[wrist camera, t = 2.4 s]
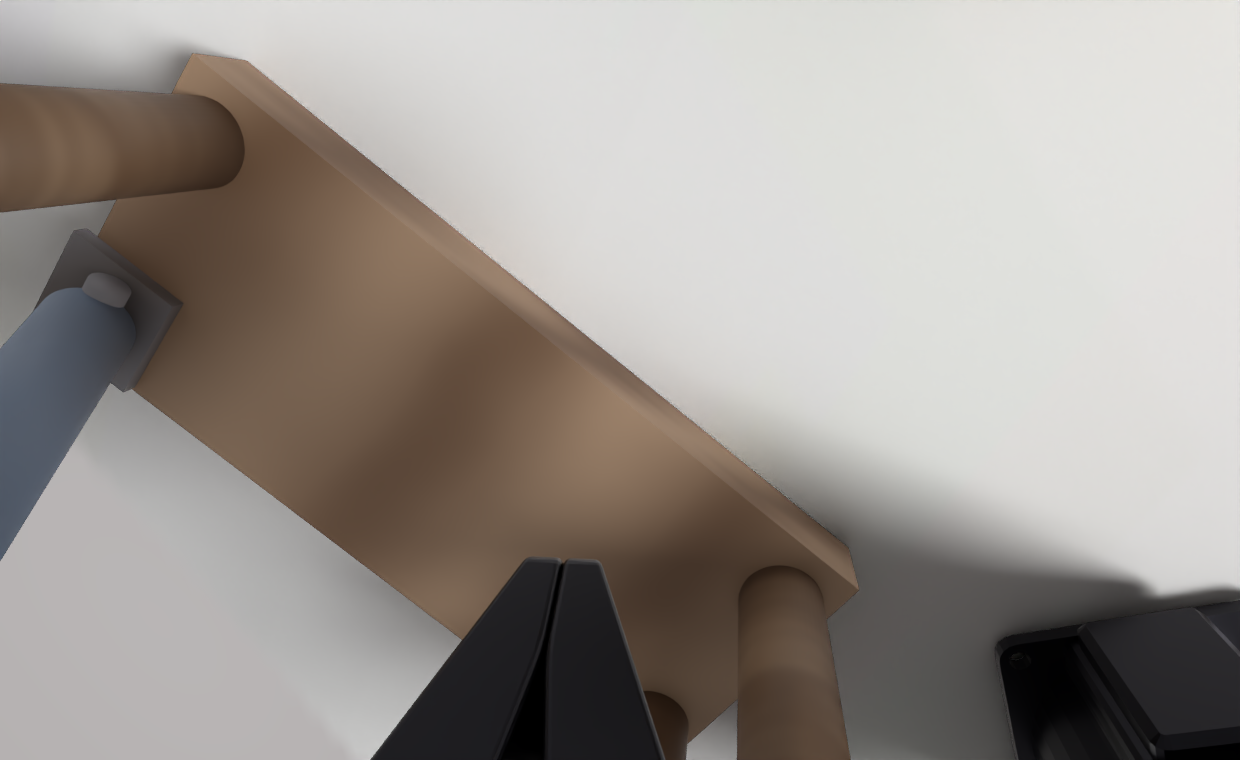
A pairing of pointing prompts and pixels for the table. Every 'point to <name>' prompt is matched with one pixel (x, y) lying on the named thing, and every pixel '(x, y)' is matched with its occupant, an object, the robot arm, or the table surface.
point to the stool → (427, 395)
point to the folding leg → (55, 386)
